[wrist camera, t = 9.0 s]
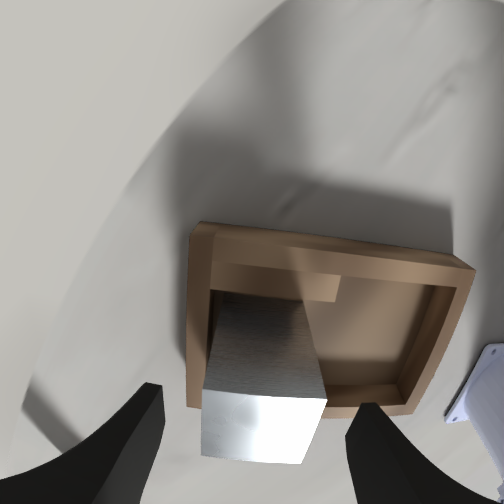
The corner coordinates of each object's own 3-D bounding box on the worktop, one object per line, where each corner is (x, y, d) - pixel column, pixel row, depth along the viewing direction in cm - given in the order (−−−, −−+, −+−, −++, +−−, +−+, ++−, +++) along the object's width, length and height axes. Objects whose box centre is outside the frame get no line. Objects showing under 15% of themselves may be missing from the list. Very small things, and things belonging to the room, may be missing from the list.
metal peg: (303, 301, 16) (326, 399, 9) (289, 362, 17) (300, 463, 10) (224, 292, 16) (202, 389, 9) (219, 355, 17) (200, 455, 10)
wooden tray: (453, 254, 15) (476, 270, 13) (401, 390, 18) (412, 414, 16) (200, 221, 15) (189, 235, 13) (193, 379, 18) (186, 406, 16)
